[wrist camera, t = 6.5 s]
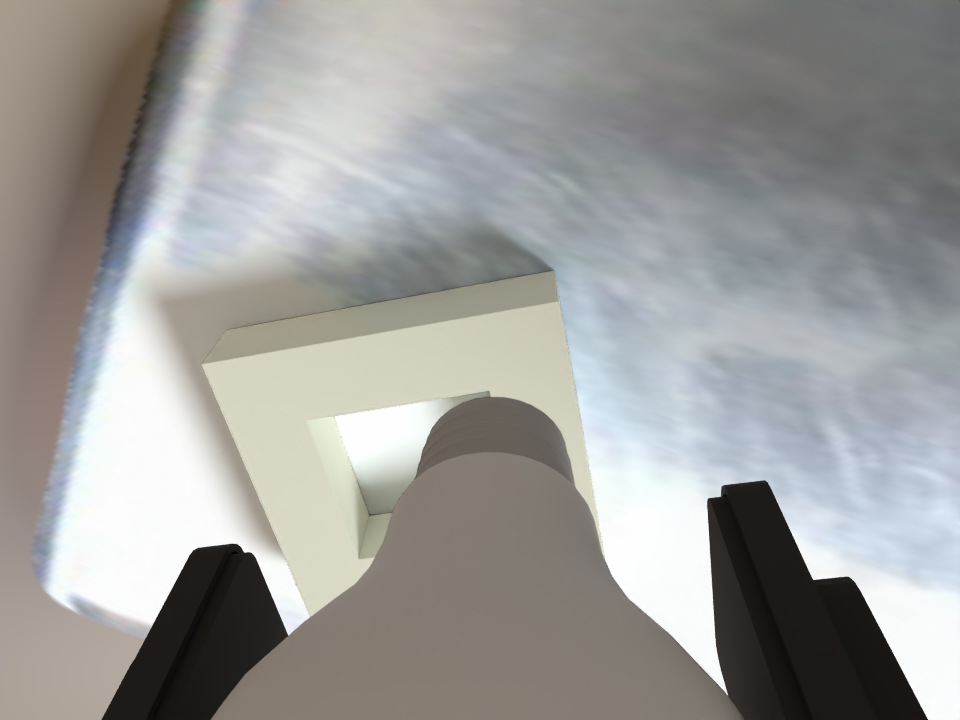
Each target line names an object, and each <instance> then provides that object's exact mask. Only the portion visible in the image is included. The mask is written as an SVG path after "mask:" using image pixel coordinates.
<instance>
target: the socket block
mask: <svg viewBox="0 0 960 720" xmlns="http://www.w3.org/2000/svg"><path fill="white" fill-rule="evenodd" d="M201 365H202V367H203V370H204V372H205V374H206V377H207V379H208V381H209V383H210V386H211V388H212V390H213V393H214V395H215V397H216V400H217V402H218V404H219V407H220V409H221V411H222V414H223V416H224V418H225V421H226V423H227V425H228V428H229V430H230V432H231V434H232V437H233V439H234V441H235V444H236V446H237V448H238V451H239V453H240V455H241V458H242V460H243V462H244V465H245V467H246V469H247V472H248V474H249V476H250V479H251V481H252V483H253V486H254V488H255V490H256V492H257V495H258V497H259V499H260V502H261V504H262V506H263V509H264V511H265V513H266V516H267V518H268V520H269V523H270V525H271V527H272V530H273V532H274V534H275V537H276V539H277V541H278V543H279V546H280V548H281V550H282V553H283V555H284V557H285V560H286V562H287V564H288V567H289V569H290V571H291V574H292V576H293V578H294V581H295V583H296V585H297V588H298V590H299V592H300V595H301V597H302V599H303V601H304V604H305V606H306V608H307V611H308V613H309V615H310V617H311V616H312V615H314V614H315V613H316V612H318V611H319V610H320V609H322V608H323V607H324V606H325V605H327V604H328V603H329V602H331V601H332V600H333V599H335V598H336V597H337V596H339V595H340V594H342V593H343V592H344V591H346V590H347V589H349V588H350V587H351V586H353V585H354V584H355V583H356V582H357V581H358V580H359V579H360V578H361V576H362V575H363V574H364V573H365V572H366V570H367V569H368V568H369V567H370V565H371V564H372V562H373V560H374V558H375V556H376V554H377V552H378V550H379V549H380V547H381V545H382V543H383V540H384V537H385V534H386V531H387V528H388V524H389V521H390V518H391V515H392V513H393V512H392V513H385V514H378V515H371V516H369V514H368V511H367V508H366V505H365V502H364V500H363V497H362V494H361V491H360V488H359V485H358V483H357V480H356V477H355V474H354V471H353V468H352V466H351V463H350V460H349V457H348V454H347V451H346V449H345V446H344V443H343V440H342V437H341V434H340V432H339V429H338V426H337V423H336V420H335V417H334V416H338V415H344V414H351V413H357V412H363V411H369V410H375V409H381V408H387V407H393V406H400V405H406V404H412V403H418V402H424V401H430V400H436V399H442V398H448V397H455V396H461V395H467V394H473V393H479V392H485V391H490V396H491V397H506V398H511V399H516V400H520V401H523V402H525V403H528V404H530V405H533V406H534V407H536V408H537V409H539V410H541V411H542V412H544V413H545V414H546V415H547V416H548V417H549V418H550V419H552V420H553V421H554V423H555V424H556V426H557V427H558V428H559V430H560V431H561V433H562V436H563V438H564V440H565V443H566V448H567V453H568V456H569V458H570V461H571V466H572V472H573V476H574V482H575V487H576V489H577V490H578V491H579V493H580V494H581V495H582V497H583V498H584V500H585V501H586V503H587V504H588V506H589V508H590V511H591V513H592V515H593V518H594V520H595V524H596V528H597V533H598V537H599V542H600V546H601V550H602V554H603V556H604V559H605V555H604V548H603V542H602V535H601V530H600V524H599V518H598V513H597V507H596V502H595V496H594V490H593V485H592V479H591V473H590V468H589V462H588V456H587V451H586V445H585V439H584V434H583V428H582V422H581V417H580V411H579V405H578V400H577V394H576V389H575V383H574V377H573V372H572V366H571V360H570V355H569V349H568V343H567V338H566V332H565V326H564V321H563V315H562V309H561V304H560V298H559V293H558V287H557V281H556V276H555V270H554V271H549V272H543V273H538V274H532V275H527V276H521V277H516V278H510V279H505V280H499V281H494V282H488V283H483V284H477V285H472V286H466V287H461V288H455V289H450V290H444V291H439V292H433V293H428V294H422V295H417V296H411V297H406V298H400V299H395V300H389V301H384V302H378V303H373V304H367V305H362V306H356V307H351V308H345V309H340V310H334V311H329V312H323V313H318V314H312V315H307V316H301V317H296V318H290V319H284V320H279V321H273V322H268V323H262V324H257V325H251V326H246V327H240V328H235V329H229V330H226V331H225V332H224V334H223V335H222V336H221V338H220V339H219V341H218V342H217V343H216V345H215V346H214V348H213V349H212V350H211V352H210V353H209V354H208V356H207V357H206V359H205V360H204V361H203V363H202V364H201Z"/></svg>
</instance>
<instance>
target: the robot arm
mask: <svg viewBox="0 0 960 720" xmlns="http://www.w3.org/2000/svg"><path fill="white" fill-rule="evenodd" d="M707 508H708V524H709V540H710V556H711V573H712V589H713V605H714V622H715V638H716V647H717V653H718V659H719V663H720V667H721V671H722V675H723V679H724V682H725V686H726V689H727V693H728V697H729V698H730V700H731V701H732V702H733V704H734V705H735V706H736V708H737V709H738V710H739V712H740V713H741V714H742V716H743V717H744V718H745V720H928V719H927V717H926V715H925V713H924V711H923V709H922V707H921V706H920V704H919V702H918V700H917V698H916V696H915V694H914V692H913V690H912V688H911V687H910V685H909V683H908V681H907V679H906V677H905V675H904V673H903V671H902V669H901V667H900V666H899V664H898V662H897V660H896V658H895V656H894V654H893V652H892V650H891V648H890V647H889V645H888V643H887V641H886V639H885V637H884V635H883V633H882V631H881V629H880V627H879V626H878V624H877V622H876V620H875V618H874V616H873V614H872V612H871V610H870V608H869V606H868V605H867V603H866V601H865V599H864V597H863V595H862V593H861V591H860V590H859V588H858V587H857V585H856V583H855V582H854V581H853V580H852V579H851V578H850V577H839V578H829V579H819V580H813V579H812V577H811V575H810V573H809V570H808V568H807V566H806V564H805V562H804V560H803V557H802V555H801V553H800V551H799V549H798V547H797V544H796V542H795V540H794V538H793V536H792V533H791V531H790V529H789V527H788V525H787V523H786V520H785V518H784V516H783V514H782V512H781V510H780V507H779V505H778V503H777V501H776V499H775V497H774V494H773V492H772V490H771V488H770V486H769V484H768V482H766V481H765V480H764V481H756V482H748V483H739V484H731V485H723V486H722V489H721V497H716V498H709V499H708V501H707ZM287 637H288V634H287V632H286V629H285V627H284V624H283V622H282V620H281V617H280V615H279V613H278V610H277V608H276V605H275V603H274V601H273V598H272V596H271V593H270V591H269V589H268V586H267V584H266V581H265V579H264V577H263V574H262V572H261V570H260V567H259V565H258V562H257V560H256V558H255V556H254V555H253V554H252V553H249V552H247V553H244V552H243V550H242V548H241V547H240V546H239V545H238V544H227V545H218V546H210V547H202V548H197V549H195V550H193V552H192V553H191V554H190V556H189V558H188V560H187V561H186V563H185V565H184V567H183V569H182V571H181V573H180V575H179V577H178V578H177V580H176V582H175V584H174V586H173V588H172V590H171V592H170V594H169V595H168V597H167V599H166V601H165V603H164V605H163V607H162V609H161V611H160V612H159V614H158V616H157V618H156V620H155V622H154V624H153V626H152V628H151V629H150V631H149V633H148V635H147V637H146V639H145V641H144V643H143V645H142V647H141V648H140V650H139V652H138V654H137V656H136V658H135V660H134V661H133V662H132V664H131V665H130V667H129V669H128V671H127V673H126V675H125V677H124V679H123V680H122V682H121V684H120V686H119V688H118V690H117V692H116V694H115V695H114V698H113V699H112V701H111V703H110V705H109V707H108V709H107V711H106V713H105V714H104V716H103V718H102V720H211V719H212V717H213V716H214V714H215V713H216V712H217V710H218V709H219V707H220V706H221V704H222V703H223V702H224V701H225V699H226V698H227V697H228V696H229V694H230V693H231V692H232V691H233V689H234V688H235V687H236V685H237V684H238V683H239V682H240V680H241V679H242V678H243V677H244V675H245V674H246V673H247V672H248V671H249V670H251V669H252V668H253V667H254V666H255V665H256V664H257V663H258V662H260V661H261V660H262V659H263V658H264V657H265V656H266V655H267V654H269V653H270V652H271V651H272V650H273V649H274V648H275V647H276V646H278V645H279V644H280V643H281V642H282V641H283V640H284V639H285V638H287Z"/></svg>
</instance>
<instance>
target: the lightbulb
mask: <svg viewBox="0 0 960 720" xmlns="http://www.w3.org/2000/svg"><path fill="white" fill-rule="evenodd" d="M211 720H745V718H744V717H743V716H742V714H741V713H740V712H739V710H738V709H737V708H736V706H735V705H734V704H733V702H732V701H731V700H730V698H729V697H728V695H727V694H726V693H725V692H724V691H723V689H722V688H721V687H720V686H719V685H718V684H717V683H716V682H715V681H714V680H713V679H712V678H711V677H710V676H709V675H708V674H707V673H706V672H705V671H704V670H703V668H702V667H701V666H700V665H699V664H698V663H697V662H696V661H695V660H694V659H693V658H692V657H691V656H690V655H689V654H688V653H687V652H686V651H685V650H684V649H683V647H682V646H681V645H680V644H679V643H678V642H677V641H676V640H675V639H674V638H673V637H672V636H671V635H670V634H669V633H668V632H667V631H665V630H664V629H663V628H662V627H661V626H660V625H658V624H657V623H656V622H655V621H654V620H653V619H651V618H650V617H649V616H648V615H647V614H646V613H644V612H643V611H642V610H641V609H640V608H639V607H637V606H636V605H635V604H634V603H633V602H632V601H630V600H629V599H628V598H627V596H626V595H625V594H624V592H623V591H622V589H621V588H620V587H619V585H618V584H617V582H616V581H615V580H614V578H613V577H612V575H611V573H610V570H609V568H608V566H607V563H606V561H605V559H604V556H603V554H602V550H601V546H600V542H599V537H598V533H597V528H596V524H595V520H594V518H593V515H592V513H591V511H590V508H589V506H588V504H587V503H586V501H585V500H584V498H583V497H582V495H581V494H580V493H579V491H578V490H577V489H576V487H575V482H574V476H573V472H572V466H571V461H570V458H569V456H568V453H567V448H566V443H565V440H564V438H563V436H562V433H561V431H560V430H559V428H558V427H557V426H556V424H555V423H554V421H553V420H552V419H550V418H549V417H548V416H547V415H546V414H545V413H544V412H542V411H541V410H539V409H537V408H536V407H534V406H533V405H530V404H528V403H525V402H523V401H520V400H516V399H511V398H506V397H484V398H477V399H473V400H470V401H467V402H464V403H461V404H459V405H458V406H456V407H454V408H452V409H450V410H449V411H448V412H447V413H445V414H444V415H443V416H442V417H441V418H440V419H439V420H438V421H437V422H436V424H435V425H434V426H433V428H432V429H431V432H430V434H429V436H428V438H427V441H426V444H425V446H424V448H423V450H422V455H421V460H420V462H419V465H418V469H417V474H416V477H415V479H414V481H413V482H412V483H411V484H410V486H409V487H408V488H407V489H406V491H405V492H404V493H403V494H402V496H401V497H400V498H399V500H398V502H397V504H396V506H395V508H394V510H393V513H392V515H391V518H390V521H389V524H388V528H387V531H386V534H385V537H384V540H383V543H382V545H381V547H380V549H379V550H378V552H377V554H376V556H375V558H374V560H373V562H372V564H371V565H370V567H369V568H368V569H367V570H366V572H365V573H364V574H363V575H362V576H361V578H360V579H359V580H358V581H357V582H356V583H355V584H354V585H353V586H351V587H350V588H349V589H347V590H346V591H344V592H343V593H342V594H340V595H339V596H337V597H336V598H335V599H333V600H332V601H331V602H329V603H328V604H327V605H325V606H324V607H323V608H322V609H320V610H319V611H318V612H316V613H315V614H314V615H312V616H311V617H310V618H309V619H307V620H306V621H305V622H303V623H302V624H301V625H300V626H299V627H298V628H297V629H296V630H294V631H293V632H292V633H291V634H290V635H289V636H288V637H287V638H285V639H284V640H283V641H282V642H281V643H280V644H279V645H278V646H276V647H275V648H274V649H273V650H272V651H271V652H270V653H269V654H267V655H266V656H265V657H264V658H263V659H262V660H261V661H260V662H258V663H257V664H256V665H255V666H254V667H253V668H252V669H251V670H249V671H248V672H247V673H246V674H245V675H244V677H243V678H242V679H241V680H240V682H239V683H238V684H237V685H236V687H235V688H234V689H233V691H232V692H231V693H230V694H229V696H228V697H227V698H226V699H225V701H224V702H223V703H222V704H221V706H220V707H219V709H218V710H217V712H216V713H215V714H214V716H213V717H212V719H211Z"/></svg>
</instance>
